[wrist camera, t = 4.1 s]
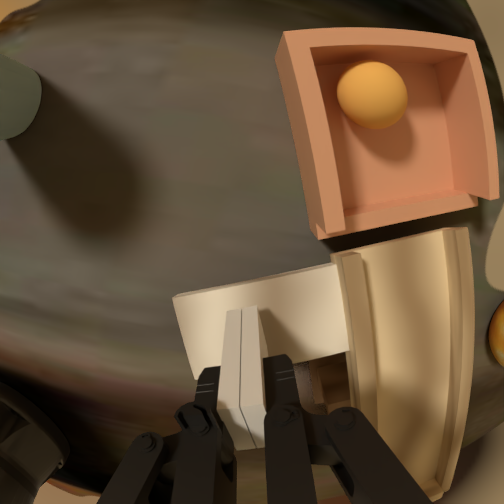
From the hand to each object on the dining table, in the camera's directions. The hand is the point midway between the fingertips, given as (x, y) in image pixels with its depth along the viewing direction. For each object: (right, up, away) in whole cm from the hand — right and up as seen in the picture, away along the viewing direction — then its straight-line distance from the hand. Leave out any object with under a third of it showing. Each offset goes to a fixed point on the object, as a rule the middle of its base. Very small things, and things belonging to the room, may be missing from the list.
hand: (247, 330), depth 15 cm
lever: (+6, -7, +2) cm, 10 cm away
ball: (+7, +13, -2) cm, 14 cm away
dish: (+9, +12, +1) cm, 15 cm away
